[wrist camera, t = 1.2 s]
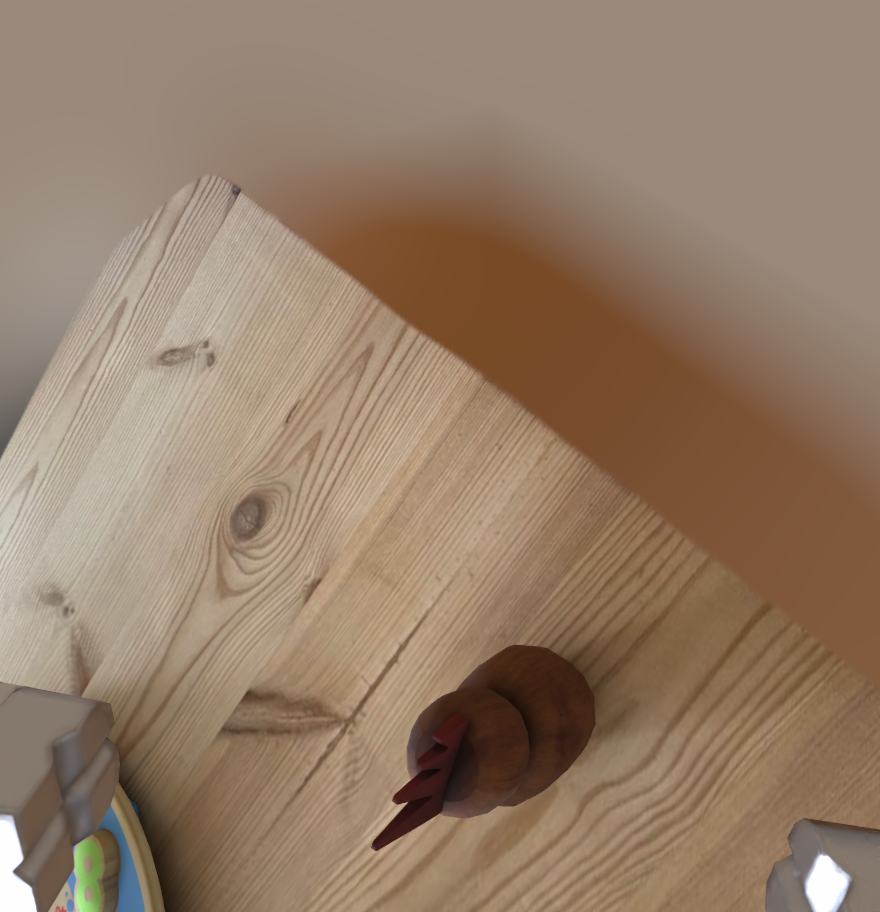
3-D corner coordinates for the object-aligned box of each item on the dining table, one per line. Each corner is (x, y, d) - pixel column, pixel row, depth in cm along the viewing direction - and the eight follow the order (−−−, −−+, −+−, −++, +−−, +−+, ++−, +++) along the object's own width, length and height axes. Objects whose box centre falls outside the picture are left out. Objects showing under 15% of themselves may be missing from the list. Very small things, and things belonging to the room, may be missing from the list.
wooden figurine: (548, 794, 37) (386, 938, 24) (472, 705, 39) (287, 791, 26) (636, 702, 35) (514, 801, 22) (550, 615, 38) (395, 658, 24)
